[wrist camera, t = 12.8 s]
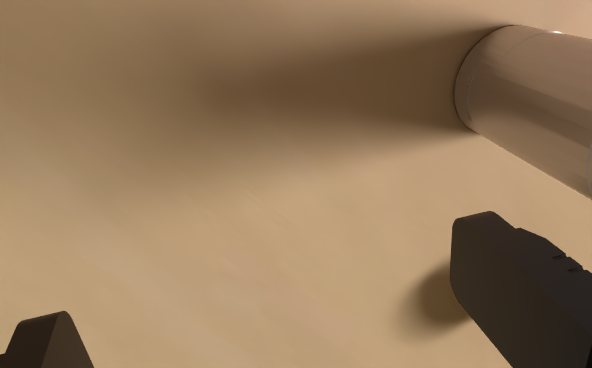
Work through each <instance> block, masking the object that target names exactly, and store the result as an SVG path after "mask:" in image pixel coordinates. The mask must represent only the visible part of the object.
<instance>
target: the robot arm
mask: <svg viewBox="0 0 592 368" xmlns="http://www.w3.org/2000/svg"><path fill="white" fill-rule="evenodd" d="M454 98H455V106H456V109H457V113H458V115H459V116H460V118H461V120H462V121H463V122H464V123H465V124H466V125H467V126H468V127H469V128H470V129H472V130H474V131H475V132H477V133H479V134H480V135H482V136H484V137H485V138H487V139H489V140H490V141H492V142H494V143H496V144H497V145H499V146H500V147H502V148H504V149H505V150H507V151H509V152H511V153H512V154H514V155H516V156H517V157H519V158H521V159H523V160H524V161H526V162H528V163H529V164H531V165H533V166H535V167H536V168H538V169H540V170H541V171H543V172H545V173H547V174H548V175H550V176H552V177H553V178H555V179H557V180H559V181H560V182H562V183H564V184H565V185H567V186H569V187H571V188H572V189H574V190H576V191H577V192H579V193H581V194H583V195H584V196H586V197H588V198H589V199H591V200H592V39H587V38H582V37H577V36H572V35H567V34H563V33H558V32H553V31H548V30H543V29H538V28H533V27H528V26H519V25H514V26H507V27H503V28H501V29H498V30H496V31H493V32H492V33H490V34H489V35H487V36H486V37H484V38H483V39H482V40H481V41H480V42H479V43H477V44H476V45H475V46H474V47H473V49H472V50H471V51H470V53H469V54H468V55H467V56H466V58H465V60H464V62H463V64H462V66H461V67H460V70H459V73H458V76H457V79H456V83H455V90H454ZM450 281H451V286H452V289H453V292H454V294H455V296H456V298H457V300H458V302H459V303H460V304H461V305H462V307H463V308H464V309H465V310H466V312H467V313H468V314H469V315H470V316H471V318H472V319H473V320H474V321H475V323H476V324H477V325H478V326H479V327H480V329H481V330H482V331H483V332H484V333H485V335H486V336H487V337H488V338H489V340H490V341H491V342H492V343H493V344H494V346H495V347H496V348H497V349H498V350H499V352H500V353H501V354H502V355H503V357H504V358H505V359H506V360H507V361H508V363H509V364H510V365H511V366H512V367H513V368H592V273H591V272H589V271H588V270H583V268H582V266H581V265H580V264H579V263H577V262H576V261H575V260H573V259H572V258H571V257H566V254H565V253H564V252H563V251H562V250H560V249H559V248H558V247H556V246H555V245H554V244H552V243H551V242H550V241H548V240H547V239H546V238H543V237H541V236H539V235H536V234H534V233H532V232H529V231H527V230H524V229H522V228H517V229H515V228H514V227H513V226H511V225H510V224H509V223H508V222H506V221H505V220H504V219H503V218H501V217H500V216H499V215H498V214H496V213H495V212H492V211H487V212H482V213H478V214H474V215H470V216H466V217H461V218H457V219H456V220H455V221H454V223H453V227H452V244H451V262H450ZM0 368H94V366H93V364H92V362H91V360H90V357H89V355H88V353H87V351H86V349H85V346H84V344H83V342H82V340H81V338H80V335H79V333H78V331H77V329H76V327H75V325H74V322H73V320H72V318H71V316H70V315H69V314H68V313H67V312H66V311H61V312H57V313H52V314H48V315H44V316H40V317H36V318H31V319H27V320H23V321H21V322H19V324H18V325H17V327H16V329H15V331H14V334H13V336H12V338H11V341H10V343H9V345H8V348H7V350H6V352H5V354H1V355H0Z"/></svg>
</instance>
